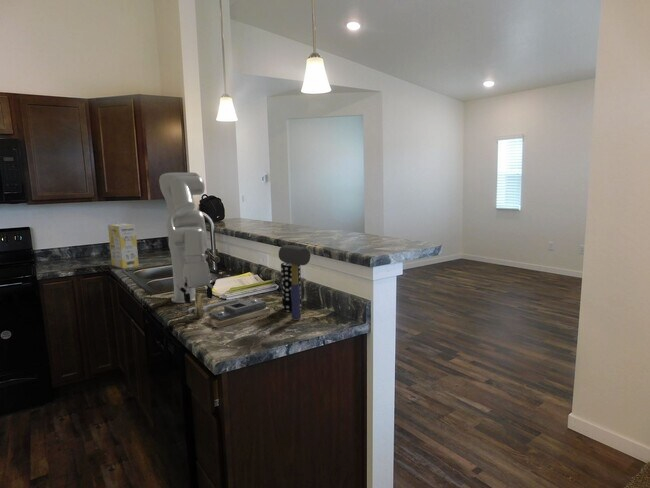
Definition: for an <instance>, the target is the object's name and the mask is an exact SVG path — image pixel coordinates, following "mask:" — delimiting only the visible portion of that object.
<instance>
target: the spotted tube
mask: <svg viewBox="0 0 650 488" xmlns="http://www.w3.org/2000/svg"><path fill="white" fill-rule="evenodd" d="M301 273H302V272H301V265H298V284H299V287H300V311H302V309H303V307H302V306H303V305H302V276H301V275H302V274H301ZM280 276H281V278H280V279H281V280H280V281H281V283H280V284H281V306H282V309H281V310H282V311H283V312H287V313H288V312H289V313H292V300H291V285H292V264H289V263H285V262H282V263H280Z"/></svg>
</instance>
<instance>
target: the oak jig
mask: <svg viewBox="0 0 650 488" xmlns="http://www.w3.org/2000/svg"><path fill="white" fill-rule="evenodd" d="M270 313H271V307H268V306H266V309H262V310H259V311H255V312H252V313H248V314H244V315H241V316H237V317H234V318H230V319H227V320H223V321H218V320H216V319H213V318H211V317H209V315H208V316H204V322H205V323H206V324H208V325H211V326H212V327H215V328H218V329H220V328H223V327H227V326H230V325H233V324H237V323H240V322H243V321H248V320H251V319H254V318H257V317H261V316H264V315H268V314H270Z"/></svg>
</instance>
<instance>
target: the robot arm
mask: <svg viewBox="0 0 650 488" xmlns="http://www.w3.org/2000/svg"><path fill="white" fill-rule="evenodd" d="M158 181H159V187H160V192H161V193H162V197H164V200H165V202H166V206H167V215H168V217H167V220H166V230H167V236H168V249H169V251H170V253H169V254H170V257H171V265H172V266H171V267H172V278H173V281H172V282H173V294H174V296H172V297H171V300H170V301H171V302H172V303H177V304H185V303H186V304H191V303H192V302H195V297H194V294H196V293H197V292H196V288H200V287H205V286H206V289H205V290H206V291H205V292H206V298H208V299H213V288H214V286H215V285H216V283H217V279H218V277H217V276H216V275H213V274H211V271H210V268H209V264H208V260H207V259H208V258H209V255H208V254H206V251H207V250H208V245H209V242H208V235H207V228H206V222H205V221H206V220H205V216H204V214H203V212H202V211H200V210H197V209H195V208H196V207H195V206H196V204H195V201H194V196H198V195H201V196H202V195H203V194H204V193H205V190H206V187H205V183H204V179H203V177H201V175H199V174H198V173H196V172H189V171H188V172H165V173H162V174H161V175H160V176H159V180H158Z"/></svg>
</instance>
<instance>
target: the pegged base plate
mask: <svg viewBox="0 0 650 488" xmlns="http://www.w3.org/2000/svg"><path fill="white" fill-rule="evenodd" d="M223 306H224V307H223V308H224V309H221V310H216V311H211V312H209V314H208V316H209V317H211V318H213V319H216V320H218V321H223V320H227V319H230V318H234V317H237V316H241V315H244V314H248V313H252V312H255V311H259V310H262V309H266V307H267V304H266V301H265V300H262V299H259V298H255V297H254V298H250V299H246V300H242V301H237V302H234V303H230V304H226V305H223Z"/></svg>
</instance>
